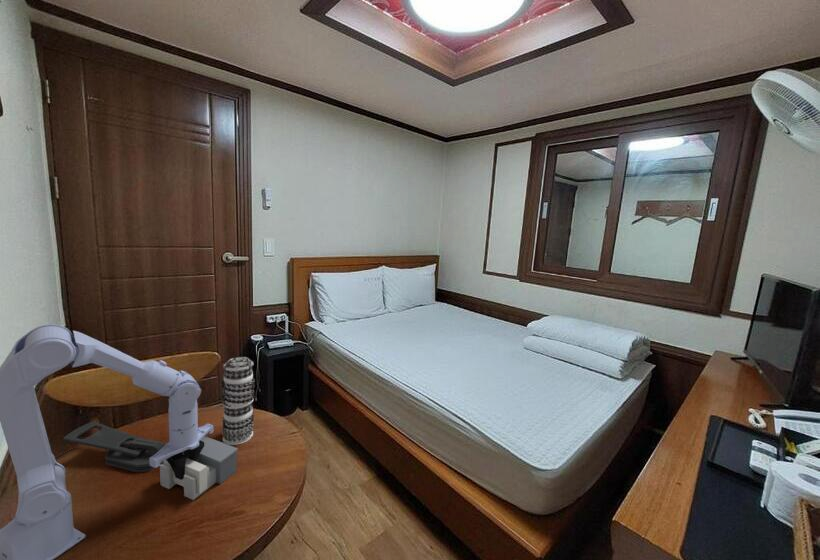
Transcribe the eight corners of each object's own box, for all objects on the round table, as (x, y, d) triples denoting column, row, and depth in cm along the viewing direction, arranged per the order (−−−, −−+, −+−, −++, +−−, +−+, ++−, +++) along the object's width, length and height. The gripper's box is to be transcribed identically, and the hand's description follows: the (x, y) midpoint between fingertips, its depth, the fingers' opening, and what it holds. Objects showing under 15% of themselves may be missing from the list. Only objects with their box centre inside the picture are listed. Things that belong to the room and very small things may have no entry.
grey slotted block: (198, 502, 77) (198, 477, 76) (155, 483, 82) (154, 459, 81) (237, 470, 88) (237, 448, 87) (197, 454, 92) (197, 433, 91)
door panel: (207, 487, 80) (207, 466, 79) (199, 493, 78) (199, 471, 77) (172, 472, 84) (171, 451, 83) (164, 478, 82) (163, 456, 81)
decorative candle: (213, 443, 97) (213, 364, 93) (234, 425, 106) (234, 352, 103) (242, 448, 96) (243, 368, 92) (260, 429, 105) (261, 356, 102)
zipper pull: (93, 419, 94) (176, 430, 92) (94, 440, 95) (176, 451, 93) (57, 438, 85) (148, 451, 83) (59, 461, 86) (149, 474, 84)
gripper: (164, 446, 71) (166, 501, 73) (222, 412, 84) (222, 460, 86) (141, 437, 73) (144, 491, 75) (201, 406, 86) (202, 452, 89)
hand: (184, 474), depth 81 cm, fingers closed on door panel, 2 cm apart
